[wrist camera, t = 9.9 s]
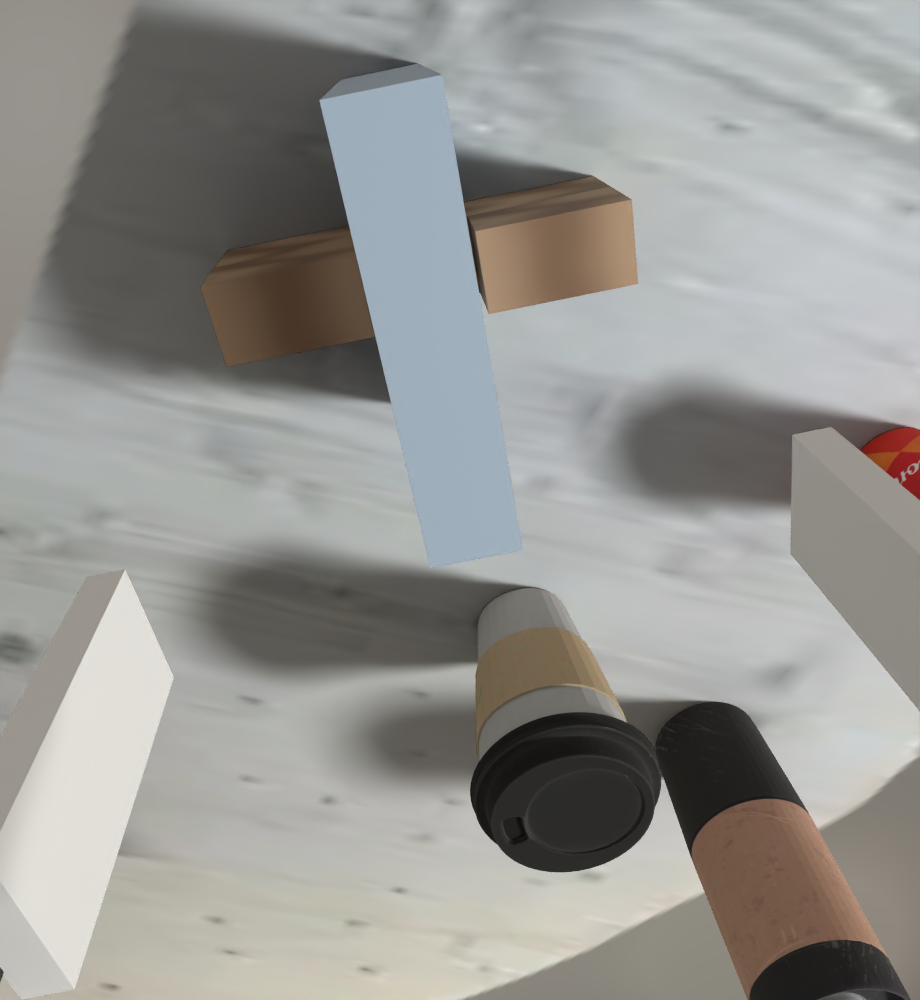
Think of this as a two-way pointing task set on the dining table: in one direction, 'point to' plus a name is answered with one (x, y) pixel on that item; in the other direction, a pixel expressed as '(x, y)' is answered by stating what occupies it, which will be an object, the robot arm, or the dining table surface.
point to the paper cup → (898, 456)
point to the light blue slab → (425, 305)
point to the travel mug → (767, 866)
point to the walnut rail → (496, 253)
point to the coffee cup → (554, 743)
